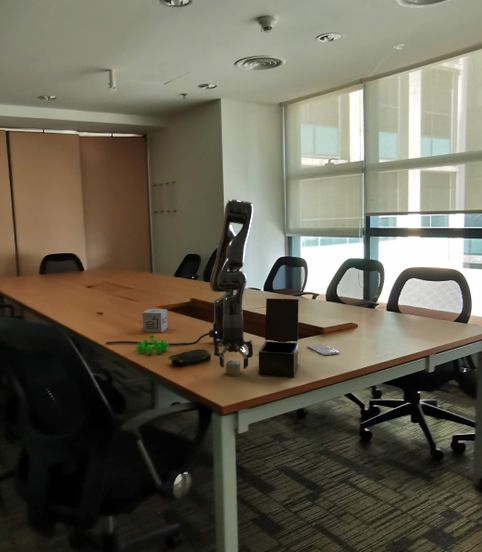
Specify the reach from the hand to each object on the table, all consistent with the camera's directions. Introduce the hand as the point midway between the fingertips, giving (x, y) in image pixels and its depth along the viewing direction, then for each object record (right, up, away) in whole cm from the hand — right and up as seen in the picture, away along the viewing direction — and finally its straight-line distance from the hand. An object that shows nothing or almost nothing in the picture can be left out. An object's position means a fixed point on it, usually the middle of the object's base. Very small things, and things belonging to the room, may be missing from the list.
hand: (233, 367), depth 183 cm
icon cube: (-37, +6, +76) cm, 85 cm away
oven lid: (+20, +17, +11) cm, 28 cm away
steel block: (0, -2, 0) cm, 3 cm away
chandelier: (-34, +1, +34) cm, 48 cm away
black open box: (+17, -2, +4) cm, 18 cm away
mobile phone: (+40, +2, +29) cm, 50 cm away
